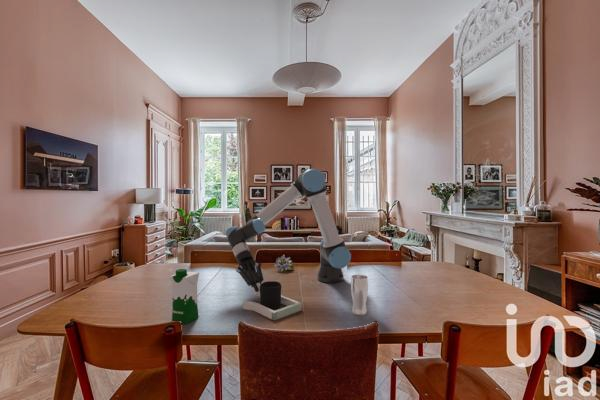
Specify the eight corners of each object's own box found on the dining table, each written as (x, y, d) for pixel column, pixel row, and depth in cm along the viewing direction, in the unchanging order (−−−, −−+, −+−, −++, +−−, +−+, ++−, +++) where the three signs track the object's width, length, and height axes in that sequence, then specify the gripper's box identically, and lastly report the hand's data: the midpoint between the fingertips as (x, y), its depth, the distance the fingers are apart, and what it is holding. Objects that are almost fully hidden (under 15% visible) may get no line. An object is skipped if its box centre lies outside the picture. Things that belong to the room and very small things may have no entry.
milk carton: (168, 322, 112) (167, 270, 112) (184, 313, 121) (184, 265, 121) (186, 325, 110) (186, 272, 109) (202, 316, 118) (201, 267, 118)
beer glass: (349, 309, 124) (349, 274, 124) (365, 309, 125) (365, 274, 125) (353, 316, 117) (353, 279, 117) (370, 315, 118) (370, 278, 118)
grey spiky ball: (282, 280, 187) (271, 265, 185) (283, 272, 198) (272, 258, 196) (296, 270, 186) (285, 256, 184) (296, 263, 197) (286, 249, 195)
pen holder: (285, 307, 128) (285, 284, 127) (269, 313, 121) (269, 289, 121) (271, 301, 134) (271, 280, 134) (255, 307, 127) (255, 284, 127)
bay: (241, 308, 126) (241, 301, 126) (277, 297, 140) (277, 291, 140) (268, 322, 112) (268, 314, 112) (305, 308, 126) (305, 301, 126)
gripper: (251, 256, 149) (270, 298, 137) (228, 260, 140) (247, 305, 128) (257, 247, 145) (278, 289, 133) (233, 251, 136) (253, 296, 124)
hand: (262, 297), depth 130 cm, fingers closed
